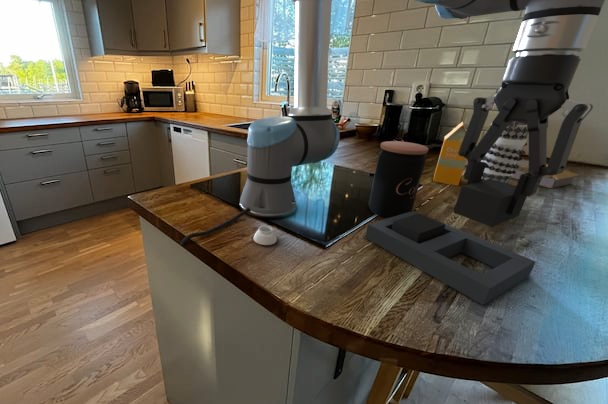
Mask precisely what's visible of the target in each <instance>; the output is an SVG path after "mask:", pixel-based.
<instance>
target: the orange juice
mask: <svg viewBox="0 0 608 404" xmlns="http://www.w3.org/2000/svg"><path fill="white" fill-rule="evenodd" d="M466 131H467V128H466V127H465V125H464V121H461V122H460V123H459V124H458V125H457V126H455V127H454V128H453V129H452V130H451V131H450V132H448V133H447V134H446V135H444V137H443V138H444V139H443V143H442V146H441V149H440V152H439V153H440V154H439V157H438V160H437V164H436V168H435V171H434V175H433V180H432V181H433V182H435V183H440V184H444V185H445V184H446V185H452V186H459V184H460V182H461V178H462V175H463V172H464V169H465V167H466V165H465V164H466V160H467V159H466V158H465V157H463V156H459V154H458V152H459V149H460V147H461V144H462V141H463V139H464V136H465V133H466Z"/></svg>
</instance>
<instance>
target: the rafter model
mask: <svg viewBox="0 0 608 404" xmlns="http://www.w3.org/2000/svg"><path fill="white" fill-rule="evenodd" d="M516 163H517V165H518V166H519V167H518V168H516V169H513V170H514V171H516V173H515V174H514V175H512V176H511V179H516V180H519V178H520V176H521V174H525V173H528V172H529V159H524V158H523V159H522V160H520V161H517V162H516ZM467 164H468V160H466V164H465V167H467ZM546 166H548V163H546ZM580 175H581V174H579V173H576V172H572V171H569V170H566V169H564V171H563V172H562V173H559V174H556V175H553V176H550V175H547V176H543V177H542V179H541V182H540V184H539V186H542V187H545V188H548V189H549V188H550V189H554V188H558V187H564V186H568V185H571V184H572V182H573V180H574V178H575V177H578V176H580Z"/></svg>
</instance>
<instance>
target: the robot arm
mask: <svg viewBox="0 0 608 404" xmlns="http://www.w3.org/2000/svg"><path fill="white" fill-rule="evenodd" d="M415 1H416V2H418V3H419V2H420V3H424V4H429V5H433V6H435V10H436V12H437V14H438V16H439V17H440V18H441V19H444V20H451V19H459V20H465V19H467V18H471V17H472V18H473V17H479V16H487V15H494V14H501V13H508V12H521V11H524V15H523V17H522V20H521V24H520V27H519V30H518V33H517V36H516V39H515V42H514V45H513V47H512V52H513V53H514V54H516V55H515V56H512V57H511V59H509V60H508V63H507V65H506V68H505V72H504V75H503V78H502V81H501V86H500V88H499V89H498V90H497V91H496V93H495V94H494V95H491V96H483V97H482V96H481V97H479V96H478V97H475V98H474V99H473V102H472V103H473V105H472V106H473V107H472V109H473V111H472V114H471V118H470V121H469V123H468V125H467V128H466V133H465V136H464V139H463V141H462V144H461V147H460V149H459V152H458V154H459V156H463V157H465V158H466V159H467V160H468V164H467V166H466V168H465V171H464V174H463V179H464V180H466V181H467V183H466V185H468V184H472V183H476V182H480V181H481V178H482V175H483V172H484V170H485V167H486V164H487V163H485V162H481V161H482V160H484V159H483V158H484V157H485V155H486V154H487V153H488V151H489V150H490V149H491V147H492V146H493V145H494V143H495V142H496V141H497V139H498V138H499V137H500V135H501V134H502V133H503V131H504V130H505V129H506V128H507V126H509V125H510V124H511V123H512V122H514V121H518V122H521V123H525V124H527V129H528V131H529V133H528V161H529V172H528V173H525V174H521V176H520V178H519V179H518V181H517V183H516V185H515V186H516V188H515V191H514V194H513V197H512V199H511V202H510V204H509V207H508V209H507V212H506V213H508V214H511V215H512V214H514V213H517V212H519V211H520V209H521V206H522V204H523V202H524V199H525V197H526V196H527V197H532V196H534V195H535V194H536V193H537V191H538V189H539V186H540V185H539V184H540V182H541V179H542V177H543V176H547V175H550V176H553V175H556V174H559V173H562V172H563V171H564V170H566V166H567V163H568V161H569V158H570V155H571V152H572V150H573V146H574V144H575V141H576V139H577V135H578V132H579V130H580V127H581V123H582V121H584V120H585V118H586V117H587V116H588V115H589V114H590V113H591V111H592V110H593V109H594V106H593V104H592V103H587V102H586V103H583V102H579V101H576V100H573V99H570V94H569V89H570V86H571V84H572V81H573V79H574V77H575V74H576V72H577V69H578V67H579V65H580V63H581V60H582V59H581V58H580V56H579V55H578V53H580V52H582V51H585V49H586V47H587V45H588V43H589V41H590V38H591V36H592V33H593V31H594V28H595V26H596V23H597V20H598V18H599V16H600V13H601V11H602V8H603V6H604V4H605V1H606V0H415ZM291 2H292V3H293V4H294V5H295V6H294V8H295V9H294V73H293V74H294V75H293V76H294V78H293V80H294V82H293V85H294V86H293V108H292V109H291V110H290V111H289V112H288V114H287V116H269V117H267V116H266V117H262V118H259V119H256V120H254V121H253V122H251V124H250V125H249V127H248V129H247V131H248V132H247V138H246V143H247V156H246V157H247V162H246V181H245V184H244V186H243V190H242V192H241V194H240V198H239V208H240V210H241V212H239V213H237V214H236V215H235V216H233V217H232V218H230V219H227V220H226V221H224V222H222V223H220V224H218V225H216V226H214V227H212V228H209V229H207V230H204V231H197V232H192V233H189V234H188V235H186V236H185V237H184V238H183V239H182V240H181V241H180V243H179V245H180V246H184V245H185V244H186V243H187V242H188V241H189V240H191V239H192V238H195V237H202V236H207V235H210V234H212V233H214V232H216V231H219V230H220V229H222V228H225V227H226V226H228V225H230V224H231V223H234V222H235V221H237V220H238V219H240V218H241V217H243V215H245V214H246V215H249V216H251V217H254V218H259V219H268V220H269V219H270V220H272V219H273V220H275V219H282V218H287V217H289V216H291V215H293V214H294V213H295V212H296V209H297V200H296V195H295V192H294V187H293V184H292V175H293V168H295V167H299V166H303V165H304V166H305V165H308V164H316V163H320V162H321V161H325V160H327V159H329V158H330V157H332V156H333V155H334V154H335V152H336V151H337V149H338V147H339V144H340V139H341V137H340V136H341V134H340V129H339V127H338V126H337V123H336V122H335V121H333V112H332V110H330V109H329V107H328V87H329V86H328V85H329V84H328V83H329V67H330V66H329V65H330V42H331V22H332V3H333V0H291ZM494 104H495V106H496V108H497V110H498V113H497V115H496V116H495V117H494V119H493V121H491V122H492V125H491V124H490V126H491V127H490V126H489V128H488V129H487V131H486V132H485V133H484V135H483V136H482V138H481V139H480V136H481V134H482V131H483V129H484V126H485V124H486V121H487V119H488V117H489V112H490V110H491V109H492V108H493V106H494ZM560 109H563V110H562V111H563V112H562V117H563V118H564V119H563V121H562V123H561V125H560V128H559V131H558V134H557V136H556V139H555V142H554V145H553V147H552V152H551V155H550V158H549V161H548V163H547V152H548V151H547V145H548V144H547V143H548V142H547V140H548V139H547V138H548V136H547V135H548V134H547V133H548V127H549V117H550V116H551V115H553V114H554V113H556V112H557V111H559V110H560ZM479 139H480V140H479ZM478 141H479V142H478ZM546 164H547V165H548V166H546ZM527 197H526V198H527ZM524 203H525V202H524ZM521 210H522V209H521Z"/></svg>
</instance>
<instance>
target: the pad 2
mask: <svg viewBox="0 0 608 404" xmlns="http://www.w3.org/2000/svg"><path fill="white" fill-rule="evenodd" d="M516 186H517V185H515V184H511V183H509V184H508V183H504V182H500V181H496V180H492V179H487V180H483V181H480V182H476V183H472V184H468V185H467V184H464V185H462V186H461V188H460V191H459V194H458V197H457V200H456V202H455V203H456V204H455V206H454V209H453V213H454V214H456V215H459V216H462V217H465V218H467V219H469V220H472V221H474V222H478V223H481V224H483V225H485V226H488V227H492V228H493V227H495V226H498V225H500V224H503V223H505V222H507V221H510V220H513V219H515V218H518V217H519V216H520V214H521V211H522V209H523V207H524V204H525V203H526V200H527V197H528V196H526V197H525V199H524V202H523V204H522V206H521V209H520V211H519V212H517V213H514V214H512V215H511V214H508V213H506V212H507V209H508V207H509V204H510V202H511V199H512V197H513V194H514V191H515V188H516Z"/></svg>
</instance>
